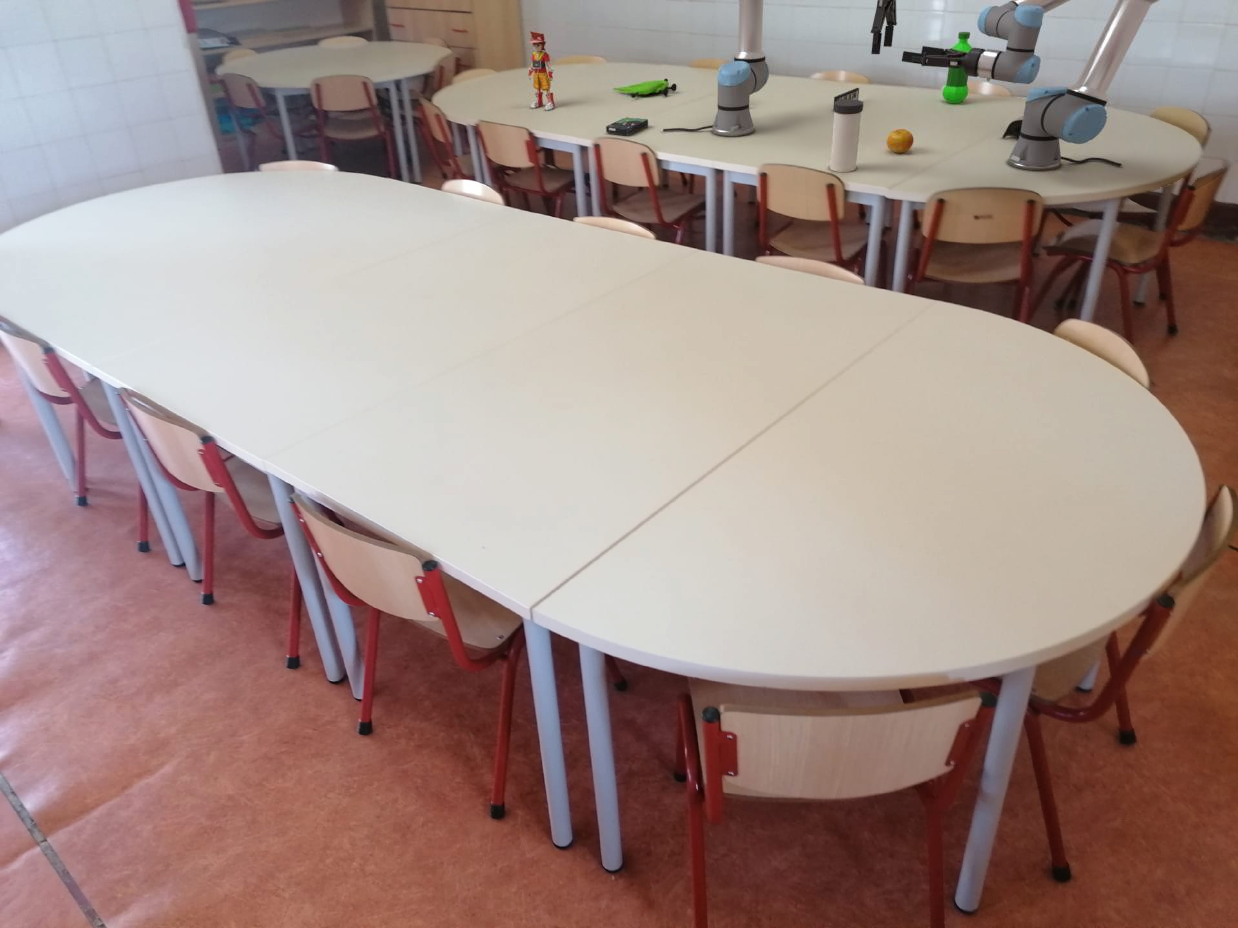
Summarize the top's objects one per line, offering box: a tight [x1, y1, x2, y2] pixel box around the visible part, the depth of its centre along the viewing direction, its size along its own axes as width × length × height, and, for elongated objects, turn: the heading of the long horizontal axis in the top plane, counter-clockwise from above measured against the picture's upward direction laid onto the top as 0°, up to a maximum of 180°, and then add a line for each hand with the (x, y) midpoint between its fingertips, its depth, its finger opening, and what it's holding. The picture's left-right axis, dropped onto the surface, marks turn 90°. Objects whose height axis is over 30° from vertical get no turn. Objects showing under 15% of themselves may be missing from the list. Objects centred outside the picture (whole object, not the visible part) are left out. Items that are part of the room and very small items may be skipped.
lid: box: [833, 99, 864, 114], centre depth 282 cm, size 9×9×2 cm
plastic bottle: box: [942, 31, 973, 104], centre depth 348 cm, size 10×10×25 cm
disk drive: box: [605, 116, 649, 136], centre depth 345 cm, size 10×3×15 cm
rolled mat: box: [1002, 115, 1024, 140], centre depth 316 cm, size 30×9×10 cm
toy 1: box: [527, 31, 556, 111], centre depth 374 cm, size 12×9×30 cm
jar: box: [829, 112, 862, 173], centre depth 288 cm, size 8×8×20 cm
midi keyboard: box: [832, 87, 860, 111], centre depth 357 cm, size 18×1×5 cm, turn 138°
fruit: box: [886, 128, 915, 153], centre depth 303 cm, size 8×8×8 cm
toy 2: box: [612, 78, 677, 99], centre depth 396 cm, size 28×5×30 cm
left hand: (881, 50), depth 308 cm, fingers open, 13 cm apart
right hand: (912, 53), depth 269 cm, fingers open, 13 cm apart
